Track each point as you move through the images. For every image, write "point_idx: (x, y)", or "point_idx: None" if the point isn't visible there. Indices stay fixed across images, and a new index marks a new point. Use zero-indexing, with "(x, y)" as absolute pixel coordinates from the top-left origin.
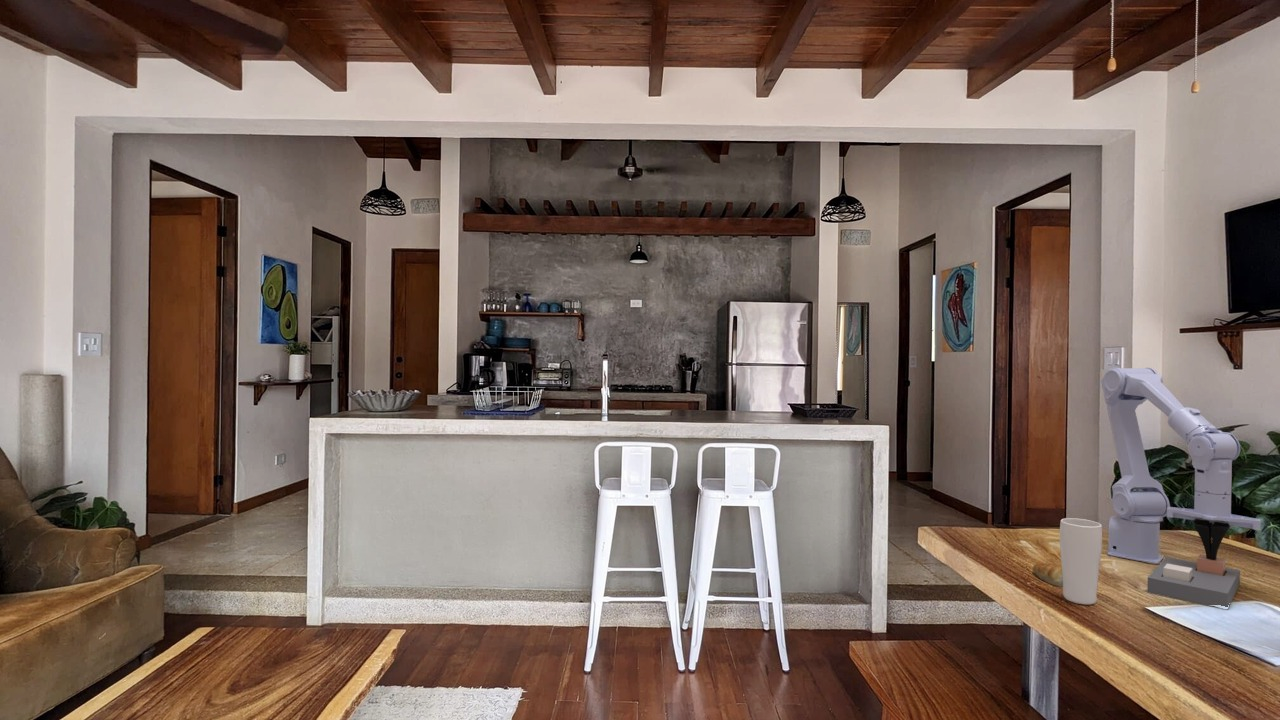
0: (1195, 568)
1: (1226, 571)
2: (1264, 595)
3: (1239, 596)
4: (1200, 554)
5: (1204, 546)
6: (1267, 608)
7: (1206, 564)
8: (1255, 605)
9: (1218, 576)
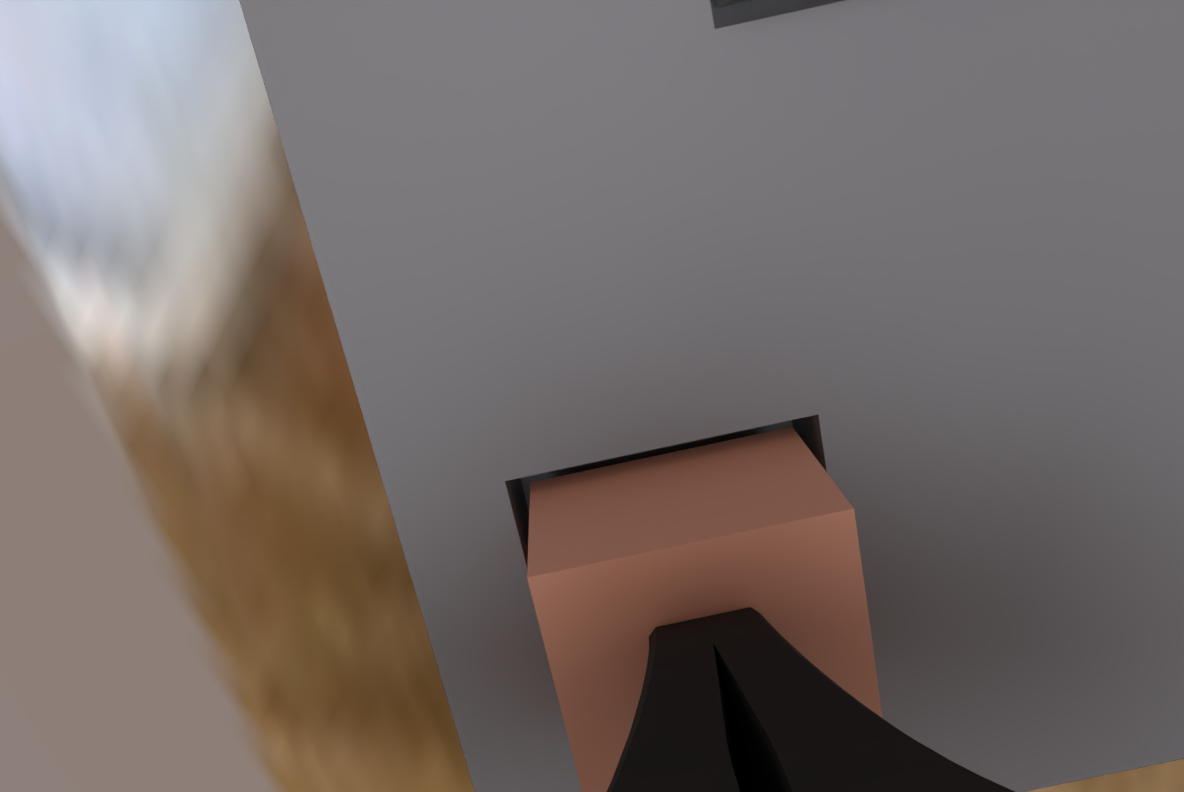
0: None
1: None
2: (240, 618)
3: None
4: None
5: (832, 681)
6: (2, 144)
7: (718, 499)
8: (114, 143)
9: (535, 378)
